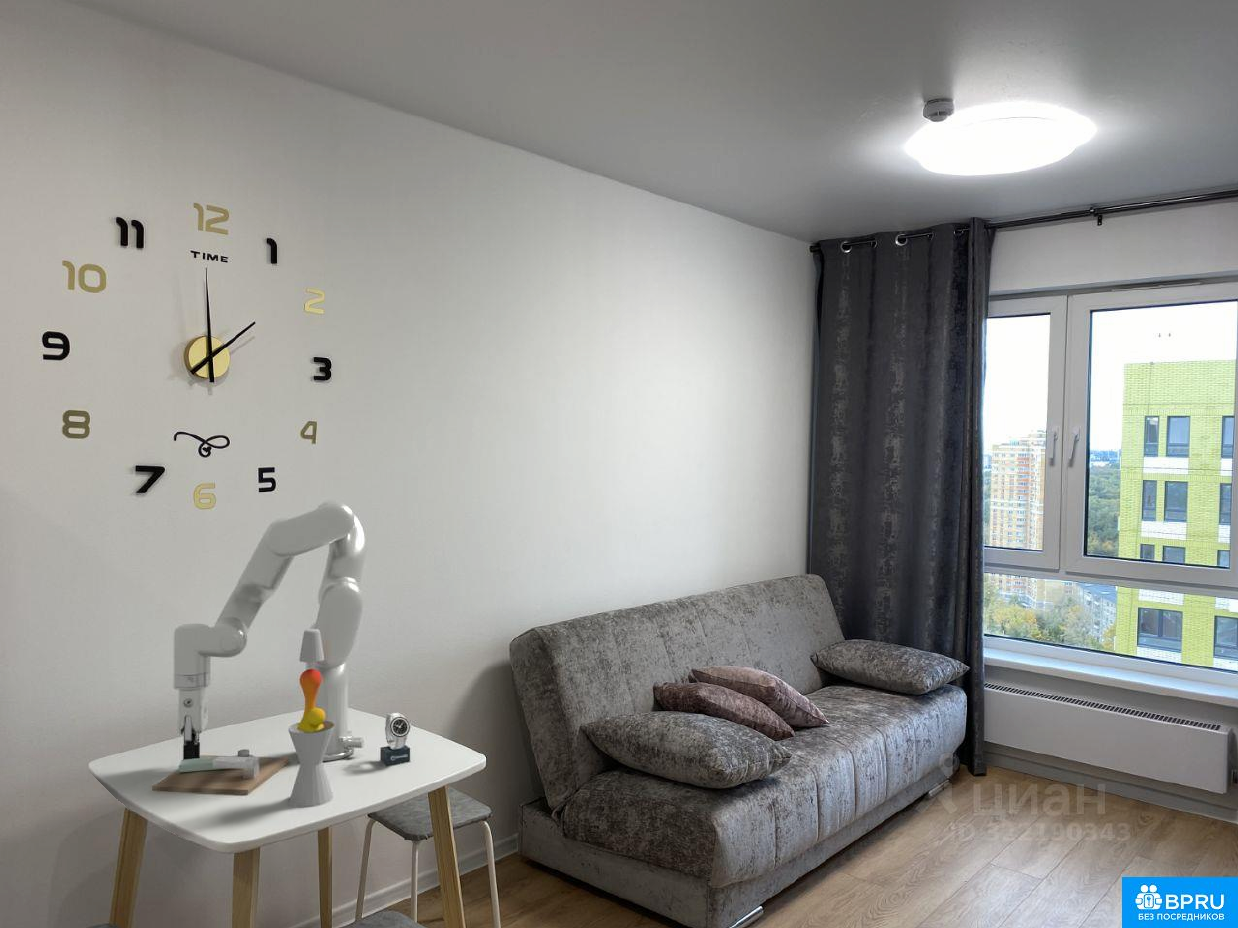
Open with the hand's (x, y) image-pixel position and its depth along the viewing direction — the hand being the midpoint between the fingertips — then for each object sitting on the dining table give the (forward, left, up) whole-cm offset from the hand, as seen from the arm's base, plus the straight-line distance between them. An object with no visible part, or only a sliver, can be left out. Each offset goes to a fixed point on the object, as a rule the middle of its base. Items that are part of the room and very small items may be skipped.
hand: (191, 760), depth 207 cm
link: (-7, +1, -1) cm, 7 cm away
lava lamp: (-34, +14, -2) cm, 37 cm away
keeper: (-13, +6, -2) cm, 15 cm away
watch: (-44, -10, -2) cm, 45 cm away
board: (-9, +3, -2) cm, 10 cm away
